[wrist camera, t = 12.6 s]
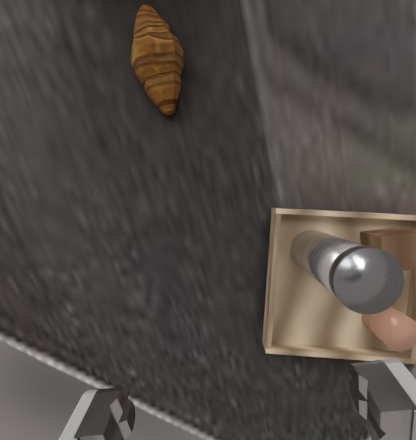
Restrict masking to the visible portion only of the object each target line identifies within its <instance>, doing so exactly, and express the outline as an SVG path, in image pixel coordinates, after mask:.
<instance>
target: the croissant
mask: <svg viewBox="0 0 416 440" xmlns="http://www.w3.org/2000/svg"><path fill="white" fill-rule="evenodd" d="M133 39H134V40H133V45H132V51H131V65H132V67H133V69H134V71H135V73H136V75H137V77H138V79H139V80H140V81H141V82H142V84H143V85H144V88H145V92H146V94H147V95H148V96H149V98H150V99H151V100H152V102H153V103H154V104H155V106H156V107H157V108H158V109H159V110H160V111H161V112H162V113H163V115H172V114H174V113H175V110H176V105H177V101H178V97H179V93H180V89H181V85H182V81H181V73H182V70H183V49H182V47H181V45H180V43H179V41H178V39H177V37H175V36H174V35H173V34H172V33H171V30H170V26H169V25H168V24H167V23H166V22H165V20H164V19H163V18H162V17H161V16H160V15H159V14H158V13H157V12H156V11H155V10H154V9H153V7H152V6H151V5H150V4H144V5H142V6H141V7H140V8H139V10H138V13H137V16H136V21H135V26H134V31H133Z"/></svg>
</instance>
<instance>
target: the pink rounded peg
mask: <svg viewBox="0 0 416 440" xmlns="http://www.w3.org/2000/svg"><path fill="white" fill-rule="evenodd" d="M362 322H363V324H364V325H365V327H366V328H368V329H369V330H370V331H371V332H372V333H373V334H374V335H376V336H377V337H378V338H379V339H380V340H381V341H382V342H384V343H385V344H386V345H387V346H388V347H389V348H391V349H393V350H396V351H405V350H408V349H410V348H412V347H413V346H415V344H416V322H415V321H414V320H413V319H411V318H410V317H408V316H407V315H405V314H403V313H402V312H400V311H398V310H397V309H395V308H394V307H392V306H391V307H390V308H388V309H387V310H385V311H383V312H380V313H376V314H362Z"/></svg>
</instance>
